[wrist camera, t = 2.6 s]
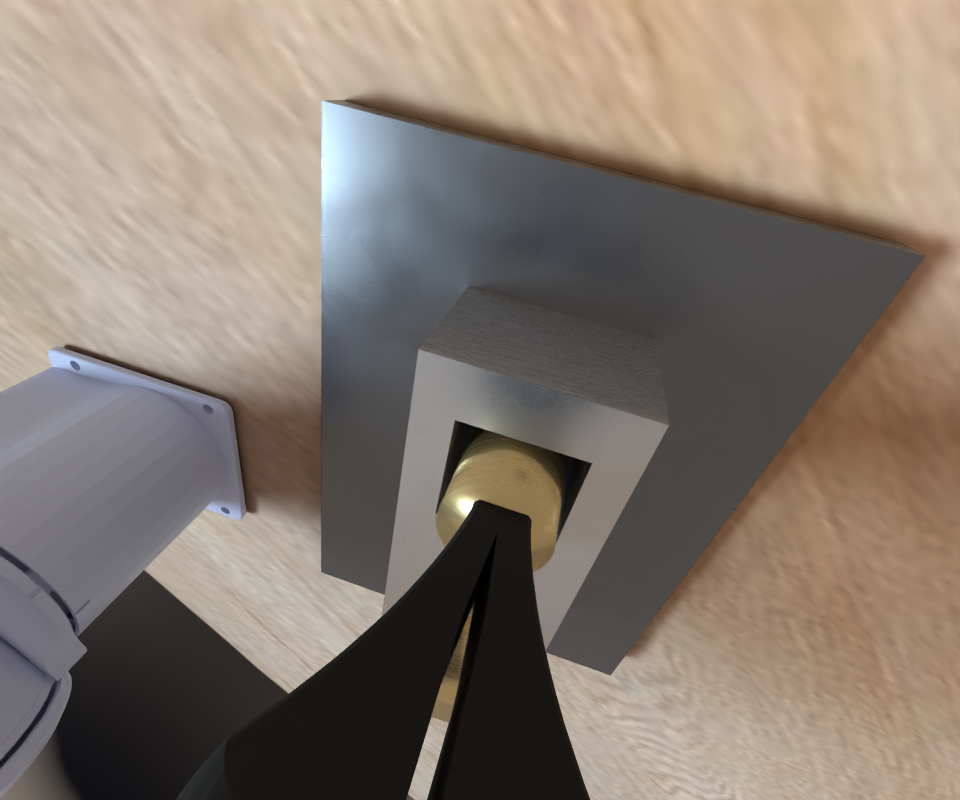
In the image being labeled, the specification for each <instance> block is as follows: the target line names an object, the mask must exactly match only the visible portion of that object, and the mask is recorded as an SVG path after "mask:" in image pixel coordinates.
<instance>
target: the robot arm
mask: <svg viewBox="0 0 960 800" xmlns="http://www.w3.org/2000/svg"><path fill="white" fill-rule="evenodd" d="M48 356H49V359H50V362H51V364H52V367H51V368H49V369H47V370H45V371H43V372H41V373H39V374H37V375H35V376H33V377H31V378H29V379H27V380H24V381H22V382H20V383H18V384H16V385H14V386H12V387H10V388H8V389H6V390H4V391H2V392H0V797H1V796H2V795H3V794H4V793H5V792H6V791H7V790H8V789H9V788H10V787H11V786H12V785H13V784H14V783H15V781H17V779H18V778H19V777H20V776H21V775H22V774H23V773H24V772H25V770H26V769H27V768H28V767H29V766H30V765H31V763H32V762H33V761H34V760H35V758H36V757H37V755H38V754H39V753H40V752H41V750H42V749H43V747H44V746H45V744H46V743H47V741H48V740H49V738H50V737H51V735H52V733H53V732H54V730H55V728H56V726H57V724H58V722H59V719H60V717H61V715H62V713H63V711H64V709H65V706H66V703H67V701H68V699H69V696H70V690H71V676H70V674H69V672H68V670H69V669H70V668H71V667H72V666H73V665H74V664H75V663H76V662H77V661H78V660H79V659H80V658H81V657H82V656H83V654H84V653H85V652H86V651H87V649H86V647H85V646H84V645H83V644H82V643H81V642H80V641H79V640H78V639H77V636H78V635H79V634H80V633H81V632H82V631H83V630H84V629H85V628H86V627H87V626H88V625H89V624H90V623H91V622H92V621H93V620H94V619H95V618H96V617H97V616H98V615H99V614H100V613H101V612H102V611H103V610H104V609H105V608H106V607H107V606H108V605H109V604H110V603H111V602H112V601H113V600H114V599H115V598H116V597H117V596H118V595H119V594H120V593H121V592H122V591H123V590H124V589H125V588H126V587H127V586H128V585H129V584H130V583H131V582H132V581H133V580H134V579H135V578H136V577H137V576H138V575H139V574H140V573H141V572H142V571H143V570H144V569H145V568H146V567H147V566H148V565H149V564H150V563H151V562H152V561H153V560H154V559H155V558H156V557H157V556H158V555H159V554H160V553H161V552H162V551H163V550H164V549H165V548H166V547H167V546H168V545H169V544H170V543H171V542H172V541H173V540H174V539H175V538H176V537H177V536H178V535H179V534H180V533H181V532H182V531H183V530H184V529H185V528H186V527H187V526H188V525H189V524H190V523H191V522H192V521H193V520H194V519H195V518H196V517H197V516H198V515H199V514H200V513H201V512H202V511H203V510H204V509H208V510H211V511H214V512H217V513H219V514H222V515H225V516H228V517H231V518H234V519H237V520H238V519H242V518H243V517H244V516H245V514H246V506H245V498H244V491H243V484H242V476H241V469H240V461H239V454H238V447H237V439H236V432H235V425H234V417H233V411H232V408H231V406H230V405H229V404H228V403H227V402H225V401H223V400H220V399H217V398H214V397H211V396H208V395H205V394H202V393H199V392H196V391H193V390H190V389H187V388H183V387H180V386H177V385H174V384H171V383H168V382H165V381H162V380H159V379H156V378H153V377H150V376H147V375H144V374H141V373H138V372H135V371H132V370H129V369H125V368H122V367H119V366H116V365H113V364H110V363H107V362H104V361H101V360H98V359H95V358H92V357H89V356H86V355H83V354H80V353H77V352H74V351H70V350H67V349H64V348H61V347H56V348H54V349H51V350H49V352H48ZM531 523H532V520H531V518H530V517H529V516H528V515H525V514H522V513H519V512H516V511H513V510H510V509H507V508H504V507H501V506H498V505H495V504H492V503H489V502H486V501H483V500H477V501H475V502H474V504H473V506H472V508H471V510H470V512H469V513H468V515H467V517H466V518H465V520H464V522H463V523H462V525H461V526H460V528H459V529H458V531H457V532H456V533H455V535H454V536H453V538H452V539H451V540H450V542H449V543H448V544H447V545H446V547H445V548H444V549H443V550H442V552H441V553H440V554H439V555H438V557H437V558H436V559H435V560H434V562H433V563H432V564H431V565H430V566H429V568H428V569H427V570H426V571H425V572H424V573H423V574H422V575H421V576H420V578H419V579H418V580H417V581H416V582H415V583H414V584H413V585H412V586H411V588H410V589H409V590H408V591H407V592H406V593H405V594H404V595H403V596H402V597H401V598H400V599H399V600H398V601H397V602H396V603H395V604H394V605H393V606H392V607H391V608H390V609H389V610H388V611H387V612H386V613H385V614H384V615H383V616H382V617H381V618H380V619H379V620H378V621H377V622H376V623H374V624H373V625H372V626H371V627H370V628H369V629H368V630H367V631H366V632H364V633H363V634H362V635H361V636H360V637H359V638H358V639H357V640H355V641H354V642H353V643H352V644H351V645H350V646H349V647H347V648H346V649H345V650H344V651H343V652H342V653H340V654H339V655H338V656H337V657H336V658H334V659H333V660H332V661H331V662H329V663H328V664H327V665H326V666H324V667H323V668H322V669H320V670H319V671H318V672H317V673H315V674H314V675H313V676H311V677H310V678H309V679H308V680H306V681H305V682H304V683H302V684H301V685H300V686H299V687H297V688H296V689H295V690H293V691H292V692H291V693H289V694H288V695H287V696H285V697H284V698H283V699H281V700H280V701H279V702H277V703H276V704H274V705H273V706H271V707H270V708H268V709H267V710H266V711H264V712H263V713H261V714H260V715H258V716H257V717H255V718H254V719H253V720H251V721H250V722H248V723H247V724H246V725H244V726H243V727H241V728H240V729H238V730H237V731H236V732H234V733H233V734H231V735H230V736H229V737H228V738H227V739H226V740H225V741H224V742H223V743H222V744H221V745H220V746H219V747H218V748H217V750H215V752H214V753H213V754H212V755H211V756H210V757H209V758H208V759H207V760H206V762H205V763H204V764H203V765H202V766H201V768H200V769H199V770H198V771H197V772H196V773H195V775H194V776H193V777H192V779H191V780H190V781H189V783H188V784H187V785H186V787H185V788H184V789H183V791H182V792H181V793H180V795H179V796H178V798H177V800H406V798H407V795H408V791H409V788H410V785H411V781H412V778H413V775H414V772H415V768H416V765H417V762H418V758H419V755H420V752H421V749H422V745H423V742H424V739H425V735H426V732H427V729H428V726H429V722H430V719H431V716H432V712H433V709H434V706H435V703H436V699H437V696H438V693H439V689H440V686H441V684H442V681H443V679H444V676H445V674H446V671H447V669H448V666H449V664H450V661H451V659H452V656H453V654H454V651H455V649H456V646H457V643H458V641H459V638H460V636H461V633H462V631H463V628H464V626H465V623H466V621H467V618H468V616H469V613H470V611H471V608H472V606H473V603H474V600H475V603H474V608H473V613H472V618H471V623H470V628H469V633H468V638H467V643H466V648H465V653H464V658H463V663H462V668H461V673H460V678H459V683H458V688H457V693H456V697H455V701H454V706H453V710H452V714H451V718H450V721H449V725H448V728H447V732H446V735H445V739H444V742H443V746H442V749H441V753H440V756H439V760H438V763H437V767H436V770H435V774H434V777H433V781H432V784H431V788H430V791H429V795H428V799H427V800H590V798H589V795H588V792H587V790H586V787H585V784H584V781H583V778H582V775H581V772H580V769H579V766H578V763H577V760H576V757H575V754H574V751H573V748H572V745H571V742H570V739H569V736H568V733H567V730H566V727H565V724H564V720H563V717H562V713H561V710H560V706H559V703H558V699H557V696H556V692H555V688H554V684H553V680H552V676H551V672H550V668H549V664H548V660H547V655H546V651H545V646H544V641H543V636H542V631H541V625H540V620H539V614H538V608H537V601H536V593H535V586H534V578H533V568H532V554H531Z"/></svg>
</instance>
